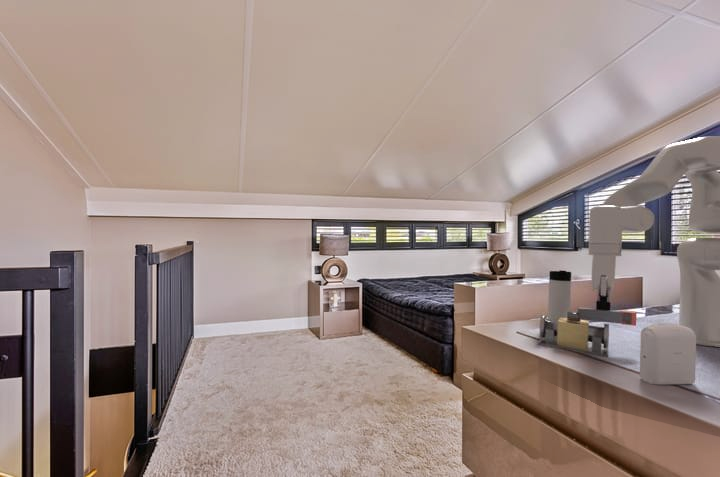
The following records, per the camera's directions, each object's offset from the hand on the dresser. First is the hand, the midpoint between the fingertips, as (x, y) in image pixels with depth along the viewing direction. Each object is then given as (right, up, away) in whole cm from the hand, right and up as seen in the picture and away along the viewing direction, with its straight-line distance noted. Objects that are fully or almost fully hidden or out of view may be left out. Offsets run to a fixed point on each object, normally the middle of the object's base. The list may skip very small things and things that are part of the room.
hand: (603, 315), depth 97 cm
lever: (-2, -1, -2) cm, 4 cm away
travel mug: (-3, -9, +16) cm, 18 cm away
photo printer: (-3, -9, -24) cm, 25 cm away
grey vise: (-8, -9, 0) cm, 12 cm away
